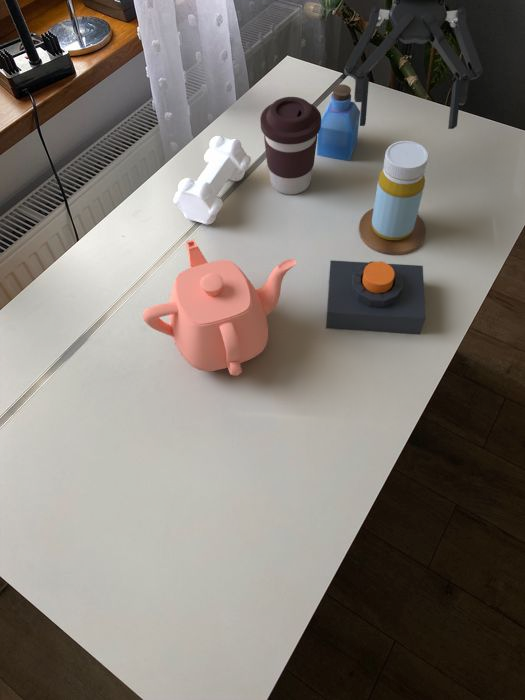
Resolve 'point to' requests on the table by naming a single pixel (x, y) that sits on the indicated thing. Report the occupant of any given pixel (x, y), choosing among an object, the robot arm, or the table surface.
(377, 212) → the bottle
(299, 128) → the coffee cup
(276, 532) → the table surface
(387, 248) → the coaster
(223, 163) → the bone shaped toy
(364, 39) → the robot arm
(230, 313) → the teapot
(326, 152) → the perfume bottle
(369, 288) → the orange push button
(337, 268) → the push button box
